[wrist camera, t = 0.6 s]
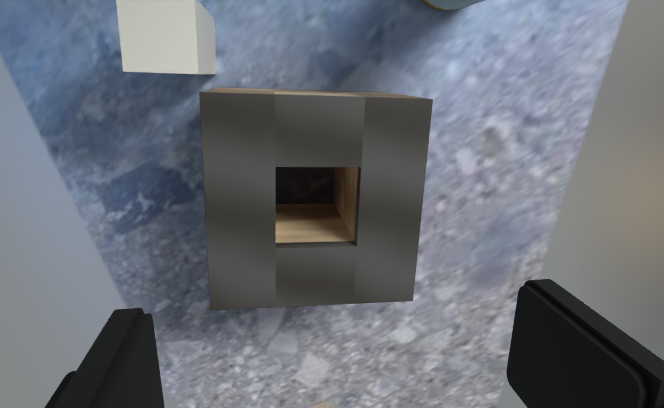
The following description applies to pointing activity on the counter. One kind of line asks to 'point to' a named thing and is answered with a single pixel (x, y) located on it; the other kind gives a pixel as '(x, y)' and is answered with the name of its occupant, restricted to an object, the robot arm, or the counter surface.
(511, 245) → the counter surface
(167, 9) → the peg
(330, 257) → the socket
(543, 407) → the robot arm
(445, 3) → the bottle
